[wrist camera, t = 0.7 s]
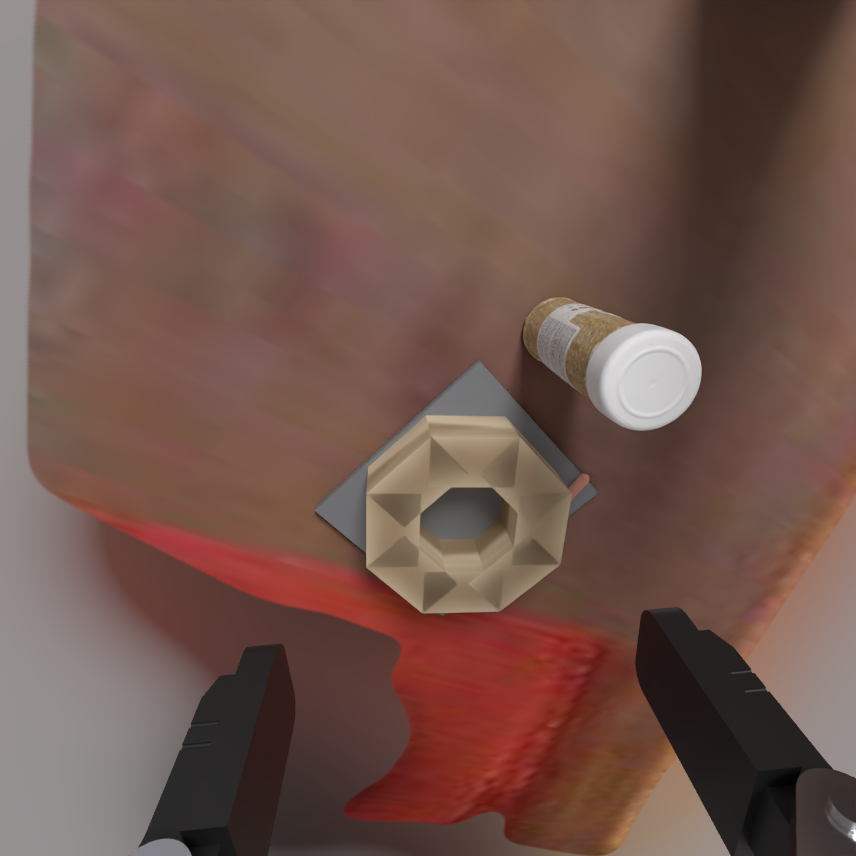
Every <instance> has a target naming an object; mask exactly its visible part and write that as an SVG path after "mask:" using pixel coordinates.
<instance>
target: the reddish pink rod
mask: <svg viewBox="0 0 856 856" xmlns="http://www.w3.org/2000/svg"><path fill="white" fill-rule="evenodd" d="M589 481H590V478H589V476H588V475H587V474H584V473H583V474H581V475H580V476H579V477H578V478H577V479H576V480H575V481H574V482H573V483H572V484H571V485H570V486H569V488H568V489H569V490H570V492H571V493H572V496H571V501H572V500H573V499H574V498H575V496H576V495H577V494H578V493H579V492H580V491H581V490H582V489H583V488H584V487H585V486H586V485H587V484H588V482H589Z"/></svg>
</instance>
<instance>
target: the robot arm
mask: <svg viewBox="0 0 856 856" xmlns="http://www.w3.org/2000/svg"><path fill="white" fill-rule="evenodd" d="M635 665H636V673H637V677H638V681H639V684H640V687H641V689H642V691H643V693H644V695H645V697H646V699H647V701H648V703H649V704H650V706H651V708H652V710H653V712H654V714H655V716H656V717H657V719H658V721H659V723H660V725H661V727H662V729H663V730H664V732H665V734H666V736H667V738H668V740H669V742H670V743H671V745H672V747H673V749H674V751H675V753H676V755H677V756H678V758H679V760H680V762H681V764H682V766H683V768H684V769H685V771H686V773H687V775H688V777H689V778H690V780H691V782H692V784H693V786H694V788H695V790H696V792H697V794H698V795H699V797H700V799H701V801H702V803H703V805H704V807H705V808H706V810H707V812H708V814H709V816H710V818H711V820H712V821H713V823H714V825H715V827H716V829H717V831H718V833H719V834H720V836H721V838H722V840H723V842H724V844H725V845H726V847H727V849H728V851H729V853H730V855H731V856H856V778H854V777H851V776H849V775H847V774H845V773H842V772H839V771H836V770H833V769H832V767H831V766H830V765H829V764H828V763H827V762H826V761H825V759H824V758H823V757H822V756H821V755H820V753H819V752H818V751H817V750H816V748H815V747H814V746H813V745H812V743H811V742H810V741H809V740H808V739H807V737H806V736H805V735H804V734H803V732H802V731H801V730H800V729H799V727H798V726H797V725H796V724H795V722H794V721H793V720H792V719H791V718H790V716H789V715H788V714H787V713H786V711H785V710H784V709H783V708H782V707H781V705H780V704H779V703H778V702H777V700H776V699H775V698H774V697H773V695H772V694H771V693H770V692H767V691H766V687H765V686H764V684H763V683H762V682H761V681H760V679H759V678H758V677H757V676H756V674H755V673H752V672H751V668H750V667H749V666H748V665H747V664H746V662H745V661H744V660H743V658H742V657H741V656H740V655H739V654H738V652H737V651H736V650H735V649H734V647H732V646H731V645H730V644H728V643H727V642H725V641H724V640H723V639H721V638H720V637H718V636H717V635H716V634H714V633H713V632H712V631H710V630H702V631H699V630H698V629H697V628H696V626H695V625H694V624H693V622H692V621H691V620H690V618H689V617H688V616H687V614H686V613H685V612H684V611H683V610H682V609H680V608H678V607H675V608H665V609H654V610H645V611H643V613H642V615H641V620H640V628H639V636H638V644H637V652H636V661H635ZM294 695H295V694H294V689H293V685H292V680H291V676H290V672H289V666H288V662H287V658H286V653H285V649H284V646H283V645H282V644H273V645H262V646H252V647H247V648H246V649H245V650H244V652H243V654H242V657H241V660H240V663H239V665H238V669H237V671H236V674H234V675H224V676H220V677H219V678H218V679H217V680H216V681H215V683H214V684H213V685H212V686H211V687H210V689H209V690H208V691H207V692H206V693H205V695H204V696H203V697H202V698H201V701H200V703H199V705H198V708H197V710H196V713H195V715H194V717H193V720H192V722H191V728H189V730H188V732H187V735H186V737H185V740H184V742H183V744H182V745H183V747H182V750H180V752H179V754H178V756H177V759H176V761H175V764H174V766H173V769H172V771H171V774H170V776H169V778H168V781H167V783H166V786H165V788H164V791H163V793H162V795H161V798H160V800H159V803H158V805H157V808H156V810H155V812H154V815H153V817H152V820H151V822H150V825H149V827H148V830H147V832H146V834H145V836H144V838H143V840H142V842H141V844H140V845H139V847H138V849H136V850H135V851H133V852H132V853H130V854H129V855H128V856H268V850H269V846H270V841H271V836H272V831H273V826H274V821H275V816H276V811H277V806H278V801H279V796H280V791H281V786H282V781H283V776H284V771H285V766H286V762H287V757H288V751H289V747H290V742H291V736H292V732H293V727H294V720H295V696H294Z"/></svg>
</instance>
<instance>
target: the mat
mask: <svg viewBox="0 0 856 856" xmlns="http://www.w3.org/2000/svg"><path fill="white" fill-rule="evenodd" d="M426 415H441V416H505V417H506V418H507V419H508V420H509V421H510V422H511V423H512V424H513V425H514V426H515V427H516V429H517V430H518V431H519V432H520V433H521V434H522V435H523V436H524V437H525V438H526V439H527V440H528V442H529V443H530V444H531V445H532V446H533V447H534V448H535V449H536V450H537V451H538V452H539V453H540V455H541V456H542V457H543V458H544V459H545V460H546V461H547V462H548V463H549V464H550V465H551V467H552V468H553V469H554V470H555V471H556V473H557V474H558V475H559V477H560V478H561V479H562V481H563V482H564V483H565V485H566V486H567V488H569V486H570V485H571V484H572V483H573V482H574V481H575V480H576V479H577V478H578V477H579V476H580V475H581V473H580V472H579V471H578V469H577V468H576V467H575V466H574V465H573V464H572V463H571V462H570V461H569V459H568V458H567V457H566V456H565V455H564V454H563V453H562V452H561V451H560V449H559V448H558V447H557V446H556V445H555V444H554V443H553V442H552V441H551V439H550V438H549V437H548V436H547V435H546V434H545V433H544V432H543V431H542V429H541V428H540V427H539V426H538V425H537V424H536V423H535V422H534V421H533V419H532V418H531V417H530V416H529V415H528V414H527V413H526V412H525V411H524V409H523V408H522V407H521V406H520V405H519V404H518V403H517V402H516V401H515V399H514V398H513V397H512V396H511V395H510V394H509V393H508V392H507V391H506V389H505V388H504V387H503V386H502V385H501V384H500V383H499V382H498V381H497V379H496V378H495V377H494V376H493V375H492V374H491V373H490V372H489V371H488V369H487V368H486V367H485V366H484V365H483V364H482V363H481V362H480V361H479V360H478V361H477V362H475V363H474V364H473V365H472V366H471V367H470V368H469V369H468V370H467V371H465V372H464V373H463V374H462V375H461V376H460V377H459V378H458V379H457V380H456V381H454V382H453V383H452V384H451V385H450V386H449V387H448V388H447V389H446V390H444V391H443V392H442V393H441V394H440V395H439V396H438V397H437V398H436V399H434V400H433V401H432V402H431V403H430V404H429V405H428V406H427V407H426V408H424V409H423V410H422V411H421V412H420V413H419V414H418V415H417V416H416V417H415V418H413V419H412V420H411V421H410V422H409V423H408V424H407V425H406V426H405V427H403V428H402V429H401V430H400V431H399V432H398V433H397V434H396V435H395V436H393V437H392V438H391V439H390V440H389V441H388V442H387V443H386V444H385V445H383V446H382V447H381V448H380V449H379V450H378V451H377V452H376V453H375V454H373V455H372V456H371V457H370V458H369V459H368V460H367V461H366V462H365V463H364V464H362V465H361V466H360V467H359V468H358V469H357V470H356V471H355V472H354V473H352V474H351V475H350V476H349V477H348V478H347V479H346V480H345V481H344V482H342V483H341V484H340V485H339V486H338V487H337V488H336V489H335V490H334V491H332V492H331V493H330V494H329V495H328V496H327V497H326V498H325V499H324V500H323V501H321V502H320V503H319V504H318V505H317V506H316V508H315V511H316V512H317V513H318V514H319V515H320V516H322V517H323V518H324V519H325V520H326V521H328V522H329V523H330V524H331V525H332V526H334V527H335V528H336V529H337V530H339V531H340V532H341V533H342V534H343V535H345V536H346V537H347V538H348V539H349V540H351V541H352V542H353V543H354V544H355V545H357V546H358V547H359V548H360V549H361V550H363V551H364V552H365V553H366V491H367V476H368V467H369V466H370V465H371V464H372V463H373V462H374V461H376V460H377V459H378V458H379V457H380V456H381V455H382V454H383V453H384V452H386V451H387V450H388V449H389V448H390V447H391V446H392V445H393V444H394V443H396V442H397V441H398V440H399V439H400V438H401V437H402V436H403V435H404V434H406V433H407V432H408V431H409V430H410V429H411V428H412V427H413V426H414V425H416V424H417V423H418V422H419V421H420V420H421V419H422V418H423V417H424V416H426ZM597 494H598V492H597V491H596V489H595V488H594V487H593V486H592V485H591V484H590V483H589V482H588V484H587V485H586V486H585V487H584V488H583V489H582V490H581V491H580V492H579V493H578V494H577V495H576V496H575V498H574V499H573V500H572V501H571V502H570V509H569V515H568V517H569V516H570V515H571V514H573V513H574V512H575V511H576V510H578V509H579V508H580V507H581V506H583V505H584V504H585V503H586V502H588V501H589V500H590V499H591V498H593V497H594V496H595V495H597ZM502 501H503V498H502V497H501V496H500V495H499V494H498V493H497V492H496V491H495V490H494V489H493V488H492V487H451V488H450V489H449V490H447V491H446V492H445V493H444V494H443V495H442V496H440V497H439V498H438V499H437V500H436V501H435V502H433V503H432V504H431V505H430V506H429V507H427V508H426V509H425V510H424V511H423V512H422V513H420V522H421V523H422V524H423V525H424V526H425V527H426V528H427V529H428V530H429V531H431V532H432V533H433V534H434V535H435V536H436V537H437V538H438V539H475V538H476V537H477V536H478V535H480V534H481V533H482V532H483V531H484V530H486V529H487V528H488V527H489V526H491V525H492V524H493V523H494V522H495V521H497V520H498V519H499V518H500V517H501V510H502ZM439 614H440V615H441V616H442V617H443V616H444V615H445V614H446V613H439Z"/></svg>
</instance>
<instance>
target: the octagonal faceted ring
mask: <svg viewBox="0 0 856 856" xmlns="http://www.w3.org/2000/svg"><path fill="white" fill-rule="evenodd" d="M451 487H492V488H493V489H494V490H495V491H496V492H497V493H498V494H499V495H500V496H501V497H502V498H503V501H502V510H501V517H500V518H499V519H498V520H497V521H495V522H494V523H493V524H492V525H491V526H489V527H488V528H487V529H486V530H484V531H483V532H482V533H481V534H480V535H478V536H477V537H476V538H475V539H438V538H437V537H436V536H435V535H434V534H433V533H432V532H431V531H429V530H428V529H427V528H426V527H425V526H424V525H423V524H422V523H421V522H420V513H422V512H423V511H424V510H425V509H426V508H427V507H429V506H430V505H431V504H432V503H433V502H435V501H436V500H437V499H438V498H439V497H440V496H442V495H443V494H444V493H445V492H446V491H447V490H449V489H450V488H451ZM571 496H572V493H571V492H570V490H569V489H568V488H567V486H566V485H565V483H564V482H563V481H562V479H561V478H560V477H559V475H558V474H557V473H556V471H555V470H554V469H553V468H552V467H551V465H550V464H549V463H548V462H547V461H546V460H545V459H544V458H543V457H542V456H541V455H540V453H539V452H538V451H537V450H536V449H535V448H534V447H533V446H532V445H531V444H530V443H529V442H528V440H527V439H526V438H525V437H524V436H523V435H522V434H521V433H520V432H519V431H518V430H517V429H516V427H515V426H514V425H513V424H512V423H511V422H510V421H509V420H508V419H507V418H506V417H505V416H441V415H426V416H424V417H423V418H422V419H421V420H420V421H419V422H418V423H417V424H416V425H414V426H413V427H412V428H411V429H410V430H409V431H408V432H407V433H406V434H404V435H403V436H402V437H401V438H400V439H399V440H398V441H397V442H396V443H394V444H393V445H392V446H391V447H390V448H389V449H388V450H387V451H386V452H384V453H383V454H382V455H381V456H380V457H379V458H378V459H377V460H376V461H374V462H373V463H372V464H371V465H370V466H369V467H368V476H367V491H366V568H367V569H369V570H370V571H371V572H372V573H374V574H375V575H376V576H377V577H378V578H380V579H381V580H382V581H383V582H385V583H386V584H387V585H388V586H389V587H391V588H392V589H393V590H394V591H396V592H397V593H398V594H399V595H401V596H402V597H403V598H404V599H405V600H407V601H408V602H409V603H410V604H412V605H413V606H414V607H415V608H416V609H418V610H419V611H420V612H421V613H460V612H500V611H501V610H502V609H504V608H505V607H506V606H508V605H509V604H510V603H511V602H513V601H514V600H515V599H517V598H518V597H519V596H520V595H522V594H523V593H524V592H526V591H527V590H528V589H530V588H531V587H532V586H533V585H535V584H536V583H537V582H539V581H540V580H541V579H542V578H544V577H545V576H546V575H548V574H549V573H550V572H551V571H553V570H554V569H555V568H557V567H558V566H559V565H560V564H561V558H562V552H563V546H564V539H565V533H566V527H567V521H568V515H569V509H570V502H571Z"/></svg>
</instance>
